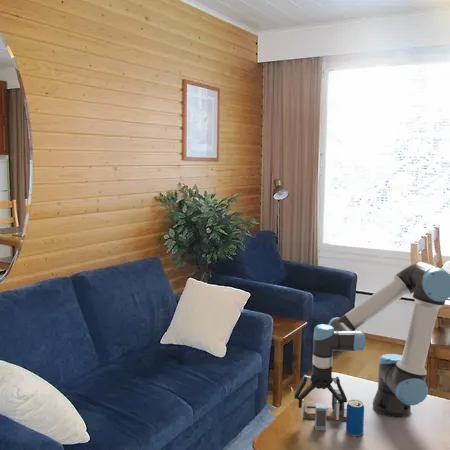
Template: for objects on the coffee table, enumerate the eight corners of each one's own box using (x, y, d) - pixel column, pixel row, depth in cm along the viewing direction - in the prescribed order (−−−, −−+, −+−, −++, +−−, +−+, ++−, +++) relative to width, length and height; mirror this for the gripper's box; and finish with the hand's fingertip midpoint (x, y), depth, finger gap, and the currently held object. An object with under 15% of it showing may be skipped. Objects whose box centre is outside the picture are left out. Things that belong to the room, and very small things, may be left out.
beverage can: (360, 438, 192) (361, 408, 191) (343, 434, 196) (344, 404, 194) (365, 431, 198) (366, 401, 196) (349, 426, 201) (350, 397, 199)
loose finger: (314, 424, 203) (315, 403, 201) (325, 425, 202) (325, 403, 201) (315, 430, 198) (316, 408, 197) (326, 431, 198) (326, 409, 196)
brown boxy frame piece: (347, 412, 212) (348, 388, 211) (349, 420, 205) (350, 396, 204) (303, 409, 214) (304, 385, 213) (304, 418, 207) (304, 393, 206)
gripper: (353, 363, 199) (350, 414, 202) (289, 359, 202) (287, 409, 205) (356, 371, 192) (353, 424, 195) (289, 366, 195) (287, 419, 197)
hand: (319, 416), depth 200 cm, fingers open, 13 cm apart
